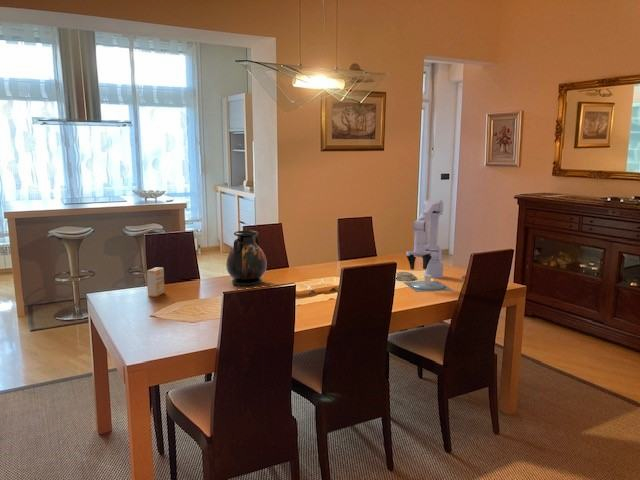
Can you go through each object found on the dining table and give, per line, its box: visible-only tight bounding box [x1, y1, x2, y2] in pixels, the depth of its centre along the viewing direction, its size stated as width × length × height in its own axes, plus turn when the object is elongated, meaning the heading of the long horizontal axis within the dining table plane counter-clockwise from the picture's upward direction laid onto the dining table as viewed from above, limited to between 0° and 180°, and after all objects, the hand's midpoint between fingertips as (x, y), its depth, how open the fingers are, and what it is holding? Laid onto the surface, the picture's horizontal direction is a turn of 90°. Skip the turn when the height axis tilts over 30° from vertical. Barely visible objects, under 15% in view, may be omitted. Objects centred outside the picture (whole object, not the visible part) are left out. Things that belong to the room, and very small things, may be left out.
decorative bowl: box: [396, 271, 418, 282], centre depth 286 cm, size 15×4×15 cm
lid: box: [411, 275, 445, 290], centre depth 269 cm, size 17×17×6 cm
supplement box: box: [146, 266, 165, 298], centre depth 252 cm, size 8×5×13 cm, turn 168°
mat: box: [402, 280, 454, 293], centre depth 269 cm, size 20×20×1 cm
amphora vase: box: [225, 230, 268, 287], centre depth 273 cm, size 22×22×28 cm
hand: (418, 269), depth 266 cm, fingers open, 7 cm apart
